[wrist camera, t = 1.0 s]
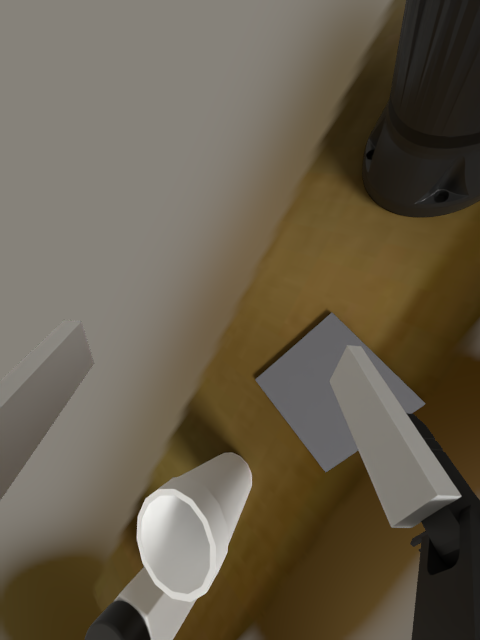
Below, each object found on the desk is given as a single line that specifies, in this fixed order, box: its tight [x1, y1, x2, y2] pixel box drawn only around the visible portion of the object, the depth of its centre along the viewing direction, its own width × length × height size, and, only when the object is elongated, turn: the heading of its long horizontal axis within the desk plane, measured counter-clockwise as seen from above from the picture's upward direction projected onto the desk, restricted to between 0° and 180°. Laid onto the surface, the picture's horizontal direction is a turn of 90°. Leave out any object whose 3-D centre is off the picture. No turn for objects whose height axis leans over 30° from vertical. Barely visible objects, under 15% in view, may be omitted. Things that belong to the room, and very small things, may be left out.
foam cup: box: [137, 452, 252, 602], centre depth 29 cm, size 10×9×13 cm
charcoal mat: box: [255, 313, 425, 472], centre depth 30 cm, size 14×14×1 cm
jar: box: [85, 566, 196, 640], centre depth 31 cm, size 9×8×12 cm
